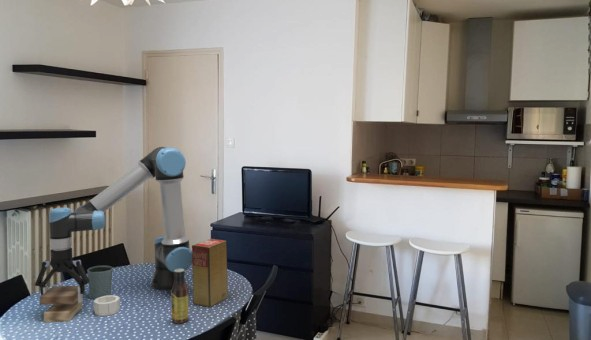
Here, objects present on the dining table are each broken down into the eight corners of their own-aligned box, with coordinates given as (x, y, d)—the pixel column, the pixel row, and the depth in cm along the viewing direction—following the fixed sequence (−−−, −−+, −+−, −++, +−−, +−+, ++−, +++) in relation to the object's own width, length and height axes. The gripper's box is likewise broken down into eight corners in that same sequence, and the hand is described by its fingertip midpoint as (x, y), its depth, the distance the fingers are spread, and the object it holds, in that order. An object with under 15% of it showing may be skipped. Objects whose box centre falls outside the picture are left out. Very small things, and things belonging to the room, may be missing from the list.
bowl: (121, 306, 186) (121, 294, 186) (115, 315, 177) (115, 303, 177) (99, 307, 185) (98, 295, 185) (91, 316, 176) (91, 304, 176)
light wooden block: (82, 307, 186) (81, 298, 186) (69, 321, 172) (68, 312, 172) (59, 307, 185) (58, 299, 185) (44, 322, 171) (43, 313, 171)
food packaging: (211, 293, 202) (210, 238, 200) (228, 297, 198) (228, 240, 195) (191, 303, 190) (190, 244, 188) (210, 307, 186) (209, 247, 184)
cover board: (84, 292, 184) (84, 285, 184) (73, 303, 173) (73, 296, 172) (53, 293, 183) (53, 286, 183) (40, 304, 171) (39, 297, 171)
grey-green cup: (84, 295, 199) (83, 268, 198) (107, 289, 206) (106, 263, 205) (94, 301, 192) (93, 273, 191) (117, 295, 199) (116, 268, 198)
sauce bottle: (173, 317, 176) (172, 267, 174) (189, 317, 176) (189, 266, 175) (170, 324, 169) (169, 272, 168) (187, 324, 170) (186, 272, 168)
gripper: (97, 245, 181) (98, 297, 183) (32, 246, 179) (34, 299, 180) (90, 249, 174) (92, 304, 176) (23, 251, 171) (25, 307, 173)
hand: (63, 302), depth 178 cm, fingers closed on cover board, 12 cm apart
